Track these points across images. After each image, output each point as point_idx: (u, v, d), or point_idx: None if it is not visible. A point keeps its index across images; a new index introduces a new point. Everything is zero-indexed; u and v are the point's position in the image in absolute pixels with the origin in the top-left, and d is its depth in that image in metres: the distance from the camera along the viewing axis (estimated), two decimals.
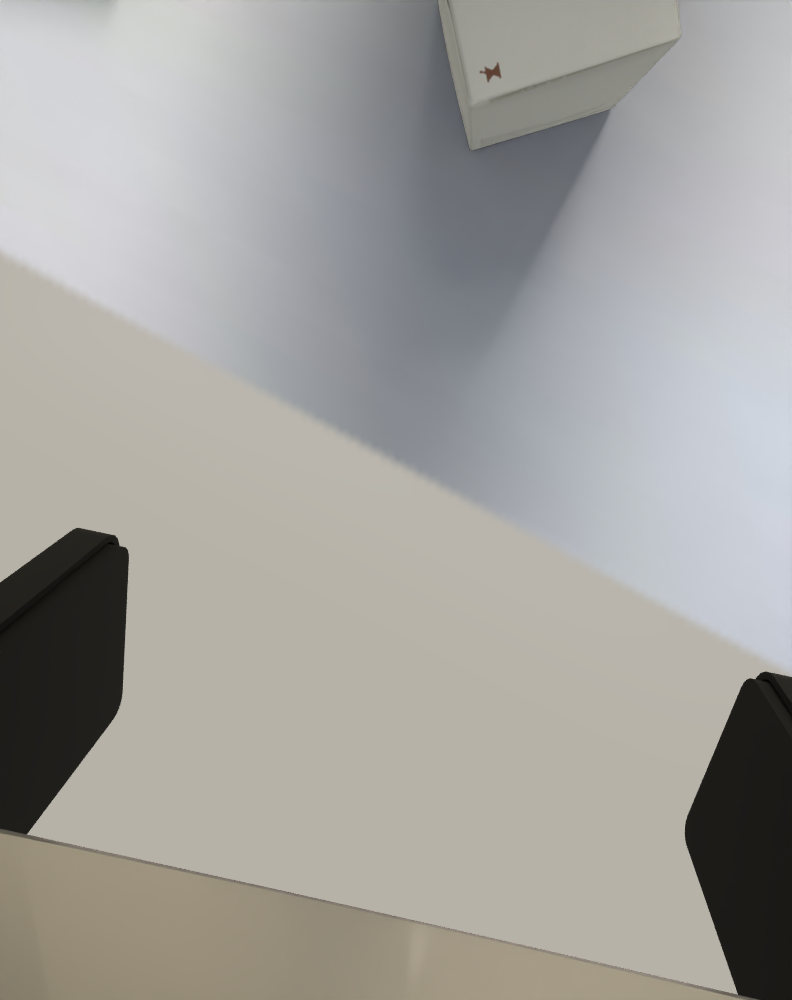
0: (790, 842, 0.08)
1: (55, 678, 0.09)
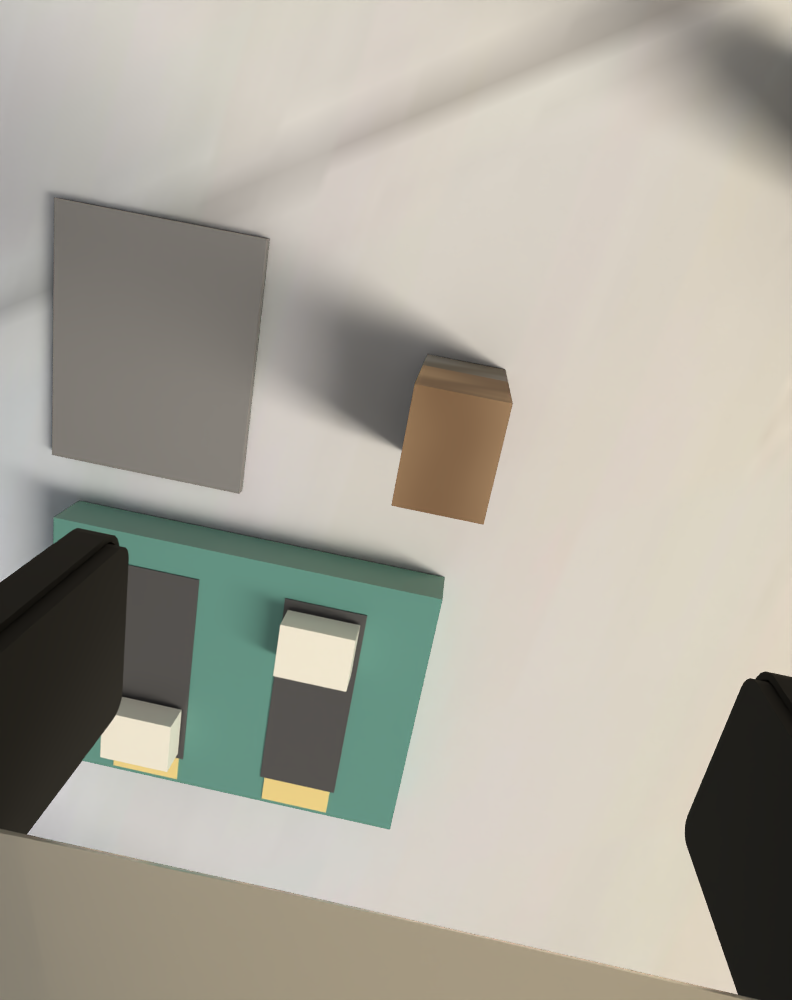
0: (790, 842, 0.08)
1: (55, 678, 0.09)
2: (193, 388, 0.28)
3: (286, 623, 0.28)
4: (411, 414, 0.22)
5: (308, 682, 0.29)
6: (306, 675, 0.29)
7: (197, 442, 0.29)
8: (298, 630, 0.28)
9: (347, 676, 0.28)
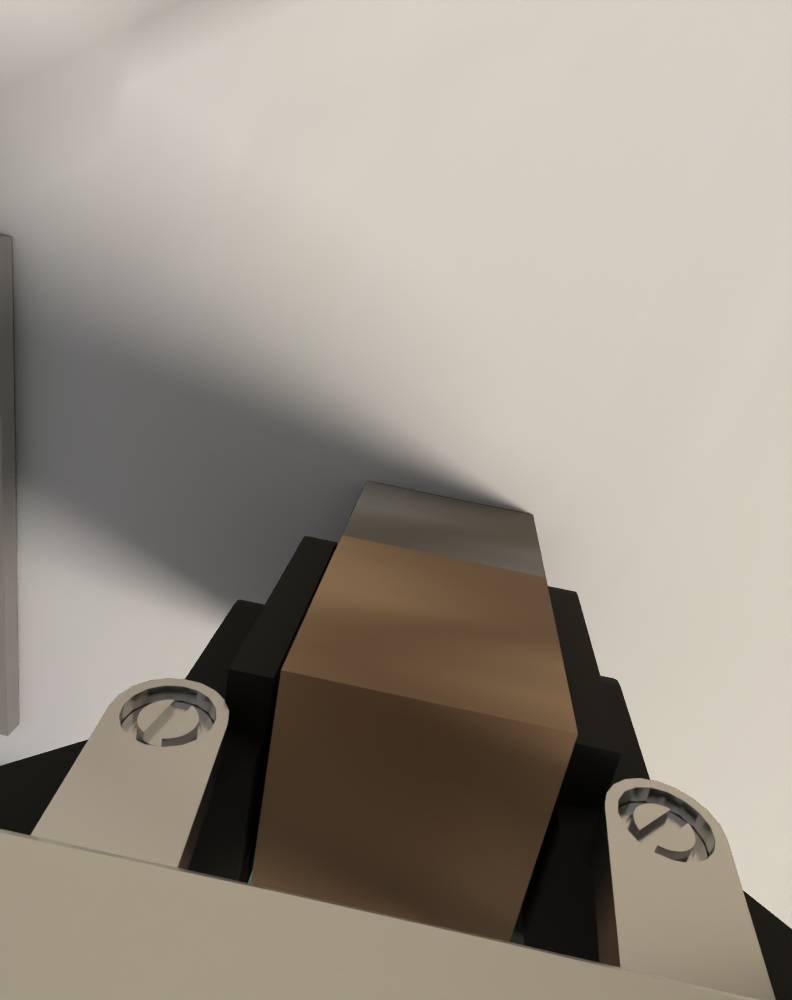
0: None
1: None
2: None
3: None
4: (277, 747, 0.07)
5: None
6: None
7: None
8: None
9: None
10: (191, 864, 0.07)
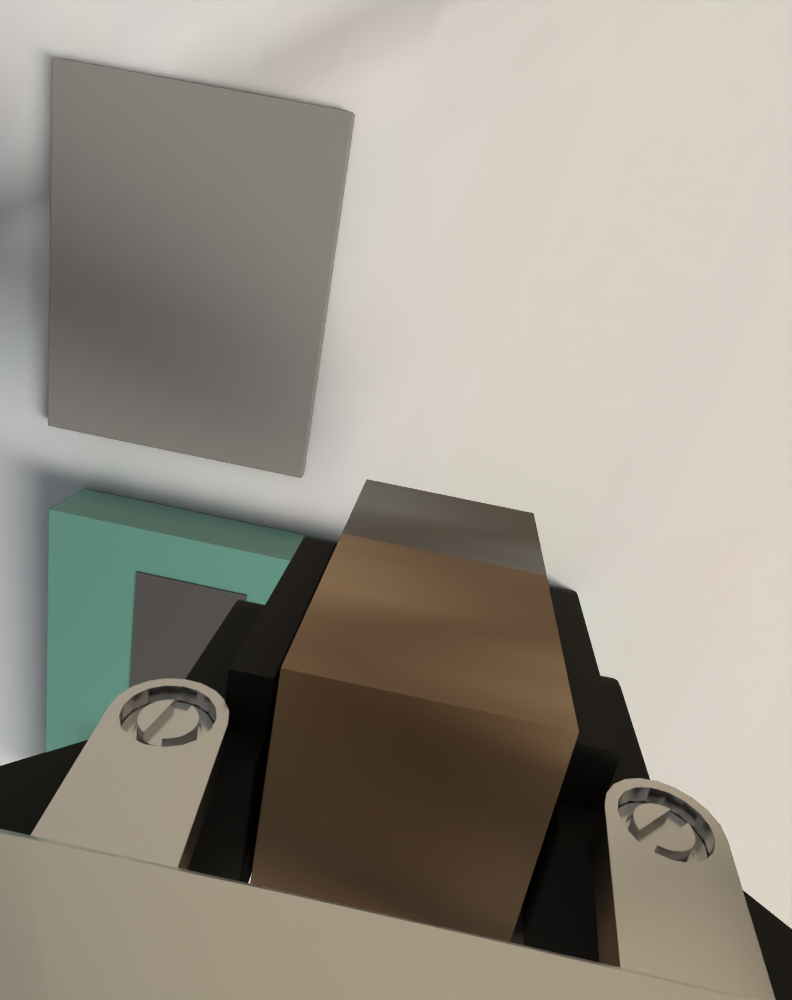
0: None
1: None
2: (242, 332, 0.21)
3: None
4: (277, 746, 0.07)
5: None
6: None
7: (246, 407, 0.21)
8: None
9: None
10: (190, 864, 0.07)
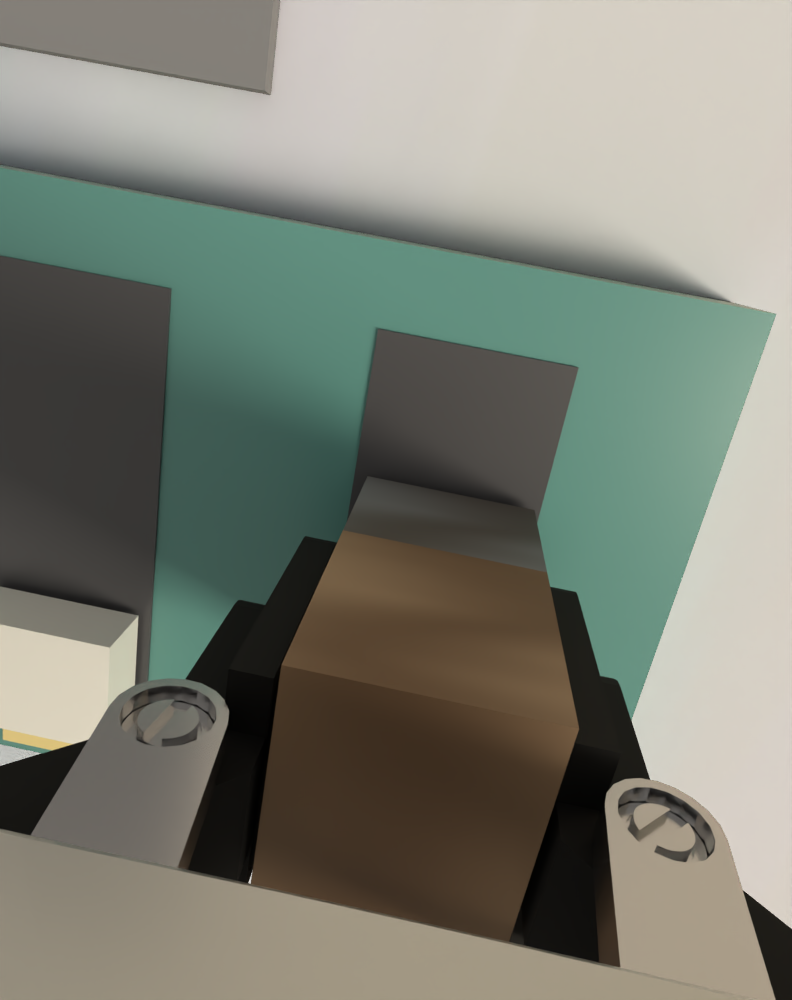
0: None
1: None
2: None
3: None
4: (278, 743, 0.07)
5: None
6: None
7: None
8: None
9: None
10: (191, 864, 0.07)
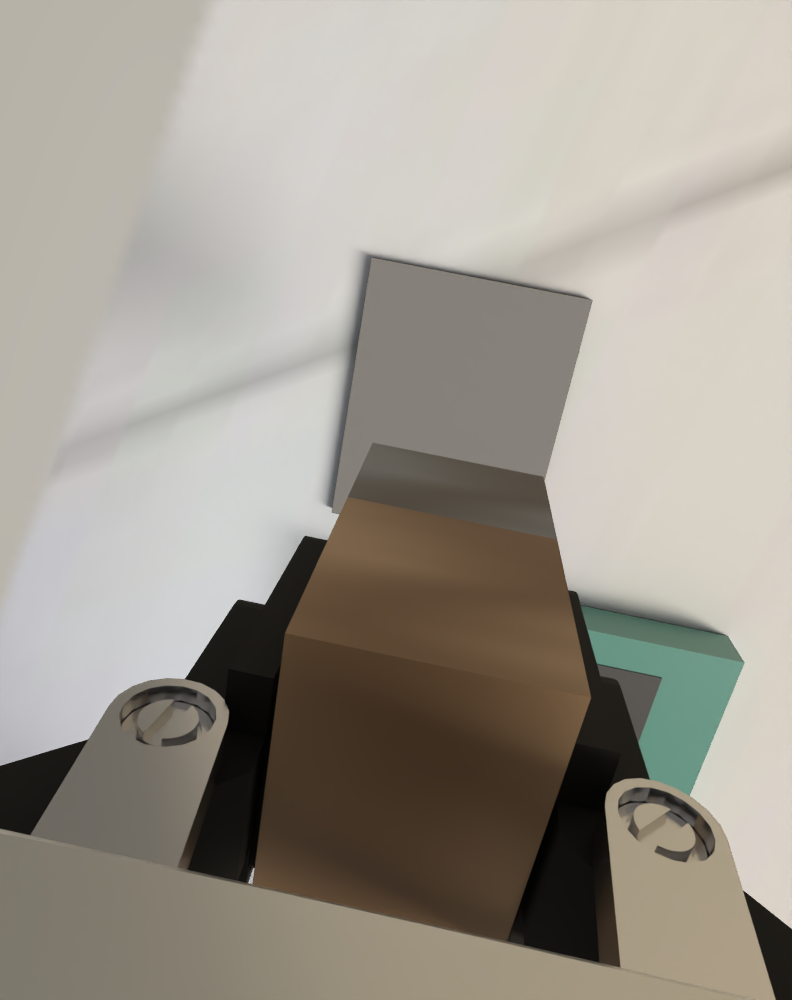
0: None
1: None
2: (492, 448, 0.28)
3: None
4: (282, 712, 0.07)
5: None
6: None
7: None
8: None
9: None
10: (191, 864, 0.07)
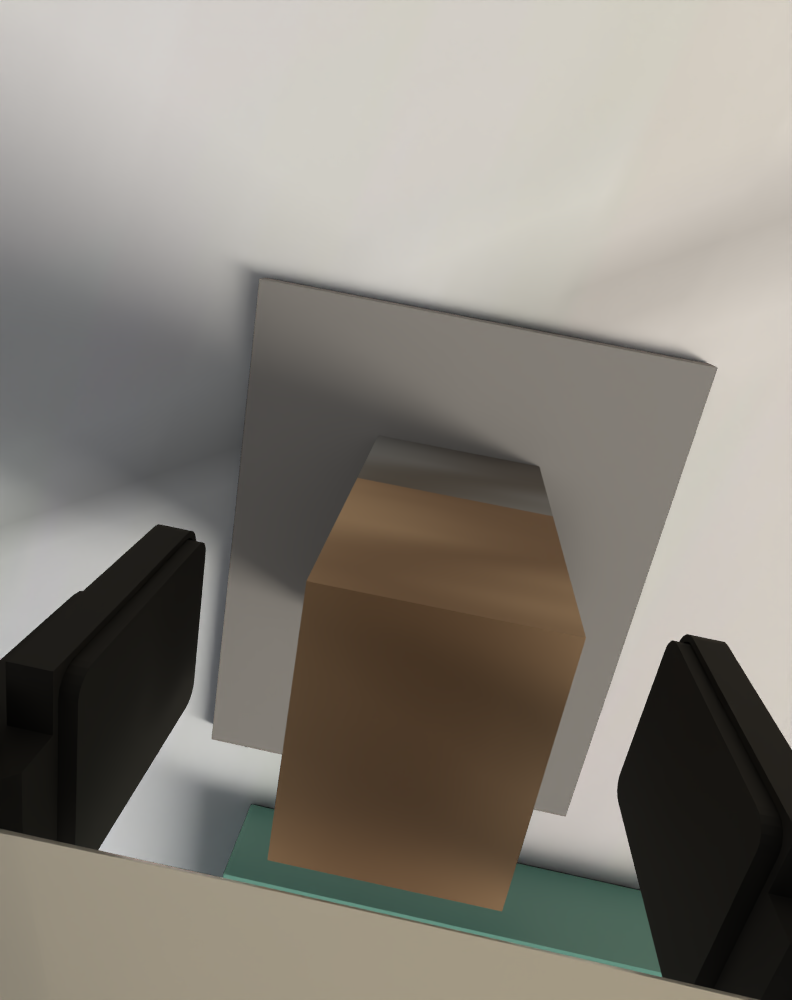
0: (694, 785, 0.09)
1: (148, 665, 0.09)
2: None
3: None
4: (302, 658, 0.08)
5: None
6: None
7: None
8: None
9: None
10: None
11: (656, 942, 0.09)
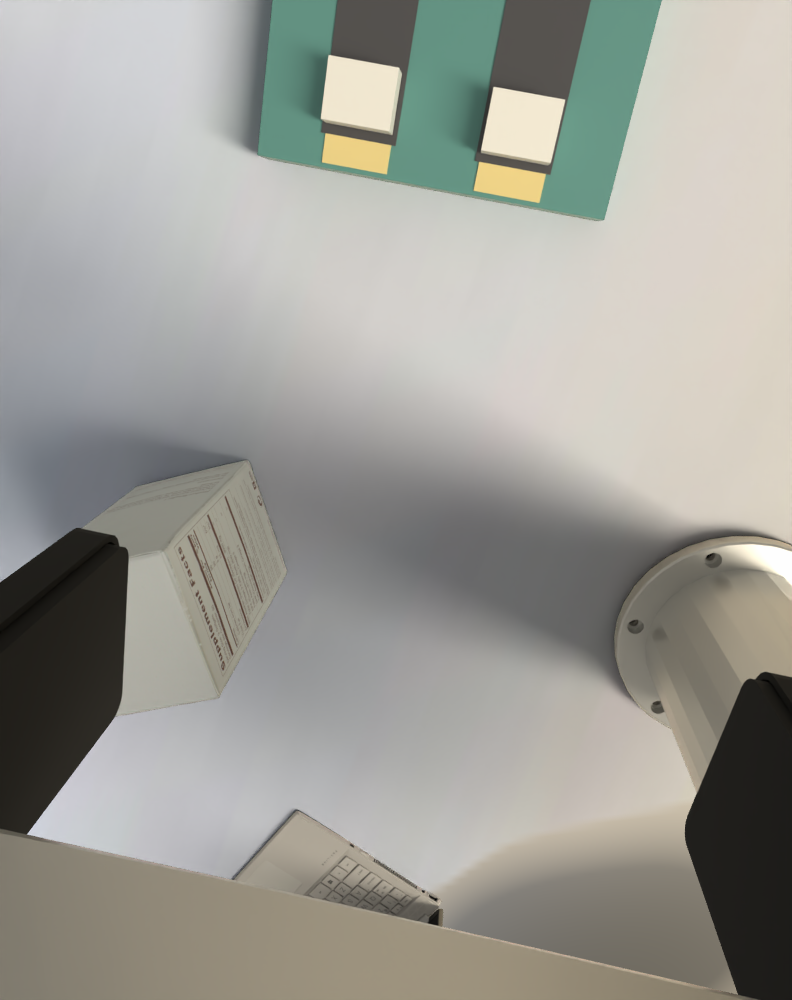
0: (790, 842, 0.08)
1: (55, 678, 0.09)
2: None
3: (498, 88, 0.30)
4: None
5: (514, 156, 0.31)
6: (513, 146, 0.30)
7: None
8: (510, 91, 0.30)
9: (553, 144, 0.30)
10: None
11: None
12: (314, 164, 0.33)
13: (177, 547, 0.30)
